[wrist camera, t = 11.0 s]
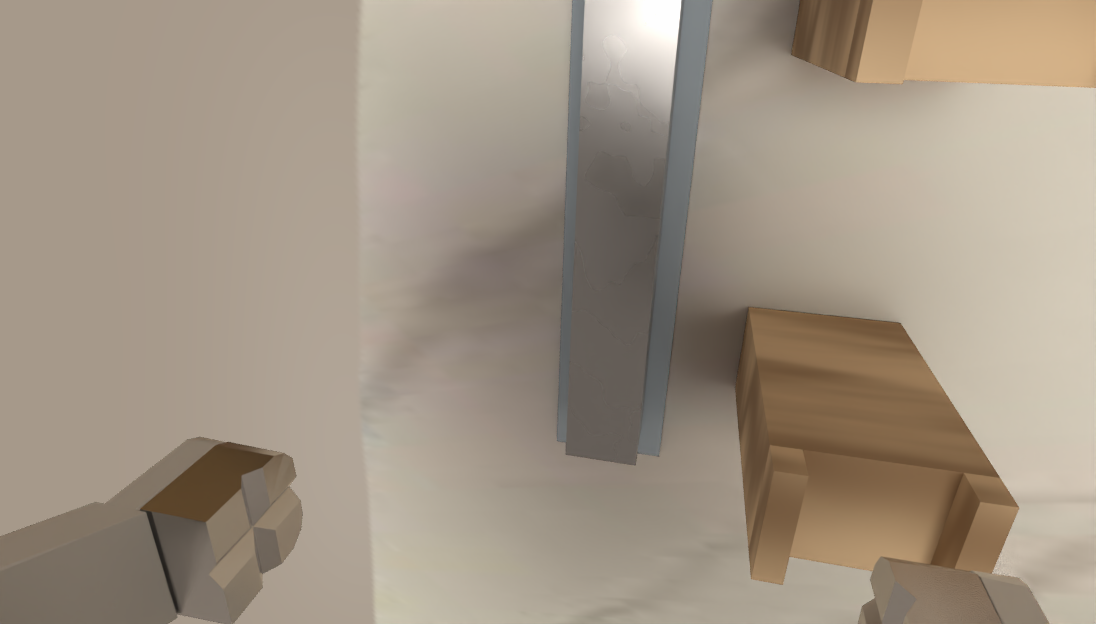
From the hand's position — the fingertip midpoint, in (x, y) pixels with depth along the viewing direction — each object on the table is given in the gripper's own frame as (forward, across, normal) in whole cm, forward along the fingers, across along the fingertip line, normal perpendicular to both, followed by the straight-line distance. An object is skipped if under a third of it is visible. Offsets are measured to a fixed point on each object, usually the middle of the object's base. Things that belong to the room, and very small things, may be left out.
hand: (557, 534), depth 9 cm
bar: (+19, +1, -1) cm, 19 cm away
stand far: (+20, -7, +6) cm, 22 cm away
